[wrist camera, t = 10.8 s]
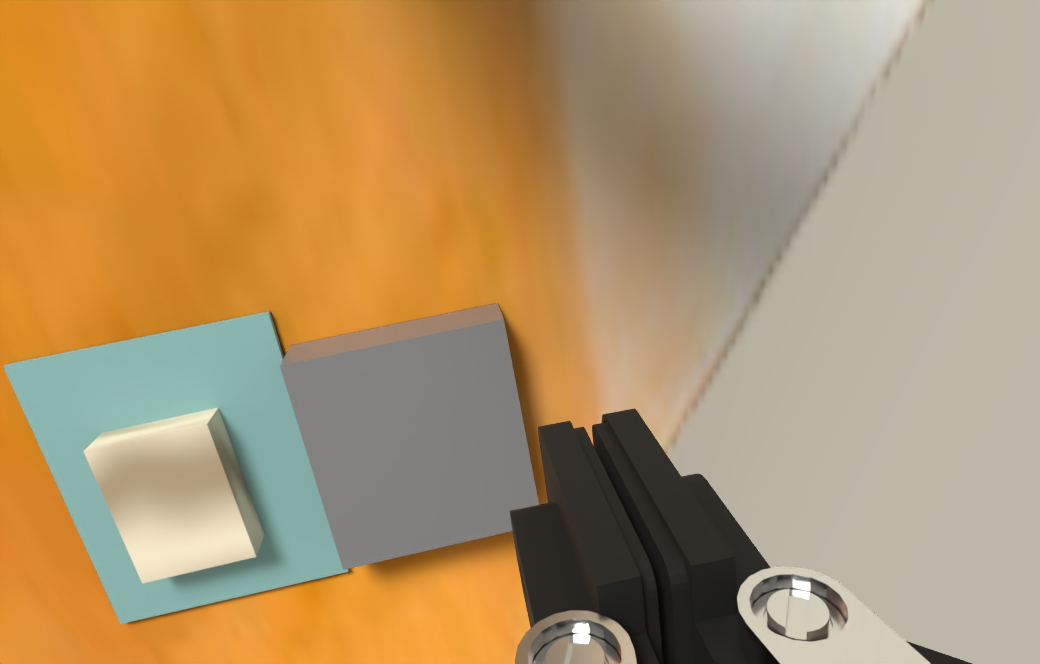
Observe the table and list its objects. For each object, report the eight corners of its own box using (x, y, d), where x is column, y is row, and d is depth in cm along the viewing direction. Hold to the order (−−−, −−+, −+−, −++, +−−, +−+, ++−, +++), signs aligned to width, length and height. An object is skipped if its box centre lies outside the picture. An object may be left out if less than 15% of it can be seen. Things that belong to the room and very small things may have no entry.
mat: (7, 363, 34) (3, 366, 34) (270, 311, 35) (268, 313, 35) (123, 619, 39) (120, 624, 39) (349, 567, 40) (348, 571, 40)
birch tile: (206, 424, 34) (218, 407, 36) (83, 451, 34) (101, 433, 35) (256, 556, 37) (264, 534, 38) (142, 583, 36) (156, 560, 38)
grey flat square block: (290, 345, 36) (279, 365, 33) (497, 302, 37) (503, 319, 34) (348, 537, 40) (343, 569, 37) (534, 495, 40) (542, 524, 38)
